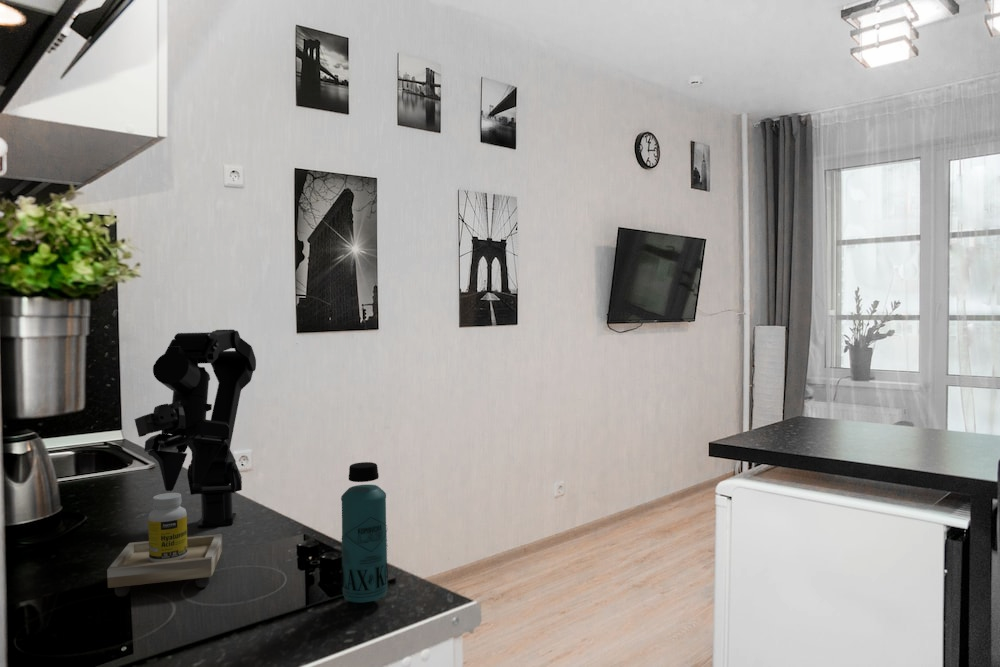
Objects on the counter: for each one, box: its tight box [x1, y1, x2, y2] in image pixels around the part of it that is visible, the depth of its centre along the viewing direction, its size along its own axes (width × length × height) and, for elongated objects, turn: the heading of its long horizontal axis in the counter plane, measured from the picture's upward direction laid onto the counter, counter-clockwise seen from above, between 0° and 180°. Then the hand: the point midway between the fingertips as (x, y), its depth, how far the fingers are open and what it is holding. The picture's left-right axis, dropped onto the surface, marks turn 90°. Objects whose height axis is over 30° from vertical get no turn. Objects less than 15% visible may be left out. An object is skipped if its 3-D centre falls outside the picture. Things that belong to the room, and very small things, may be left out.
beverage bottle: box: [340, 461, 389, 603], centre depth 96 cm, size 6×7×20 cm
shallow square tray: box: [106, 533, 223, 598], centre depth 107 cm, size 12×14×5 cm
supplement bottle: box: [147, 492, 188, 562], centre depth 106 cm, size 5×5×10 cm
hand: (182, 487), depth 117 cm, fingers open, 9 cm apart
